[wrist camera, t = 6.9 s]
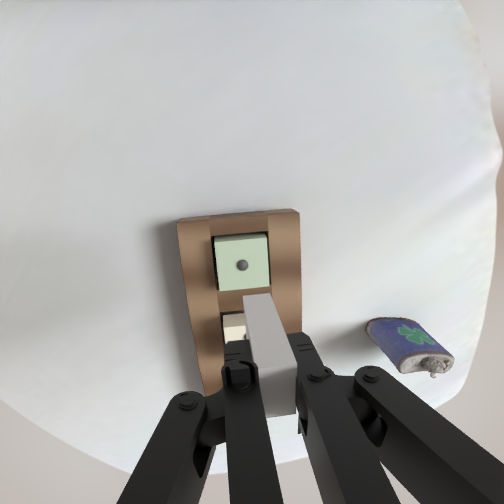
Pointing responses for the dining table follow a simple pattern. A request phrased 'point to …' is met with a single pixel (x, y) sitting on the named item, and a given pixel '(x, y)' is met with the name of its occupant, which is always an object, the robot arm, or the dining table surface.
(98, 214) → the dining table surface
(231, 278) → the tile
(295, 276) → the board
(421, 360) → the flask
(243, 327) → the tile
